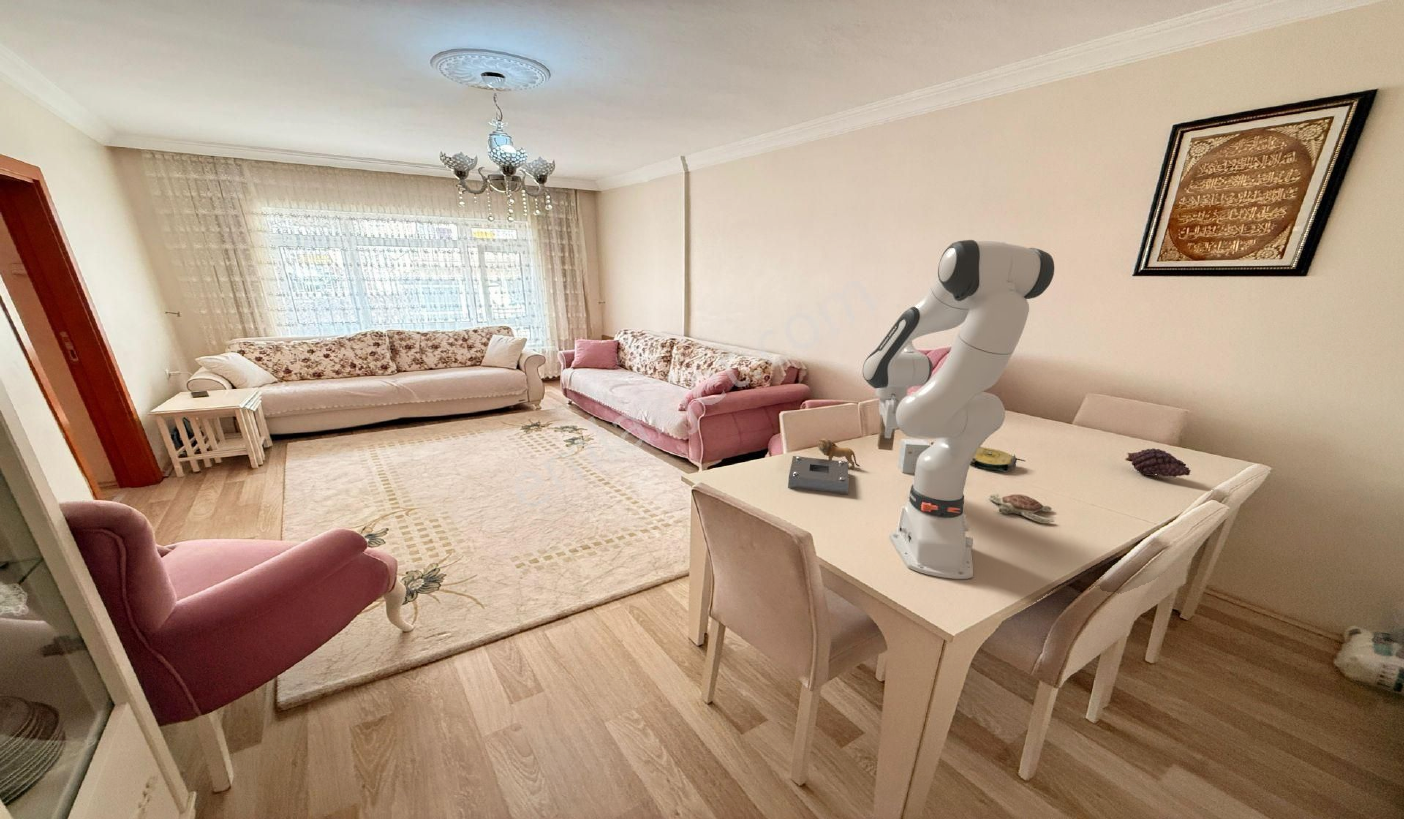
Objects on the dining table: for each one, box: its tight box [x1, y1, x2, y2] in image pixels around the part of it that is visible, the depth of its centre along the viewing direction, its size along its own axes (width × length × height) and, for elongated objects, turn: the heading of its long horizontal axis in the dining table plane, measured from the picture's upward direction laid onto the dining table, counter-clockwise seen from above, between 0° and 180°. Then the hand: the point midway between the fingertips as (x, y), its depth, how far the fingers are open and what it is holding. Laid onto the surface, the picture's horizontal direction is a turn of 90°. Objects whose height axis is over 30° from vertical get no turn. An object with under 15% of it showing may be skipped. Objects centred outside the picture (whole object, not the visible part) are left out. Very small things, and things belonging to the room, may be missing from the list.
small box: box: [897, 438, 931, 474], centre depth 169 cm, size 8×6×10 cm
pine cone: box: [1124, 447, 1191, 478], centre depth 168 cm, size 18×10×10 cm, turn 27°
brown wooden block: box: [877, 415, 896, 451], centre depth 152 cm, size 4×4×10 cm
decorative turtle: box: [988, 493, 1055, 524], centre depth 142 cm, size 18×17×5 cm
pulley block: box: [930, 441, 1026, 475], centre depth 180 cm, size 14×6×30 cm
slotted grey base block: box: [787, 455, 850, 496], centre depth 160 cm, size 18×18×5 cm
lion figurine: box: [817, 438, 860, 470], centre depth 173 cm, size 15×5×9 cm, turn 72°
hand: (886, 435), depth 152 cm, fingers closed on brown wooden block, 4 cm apart
